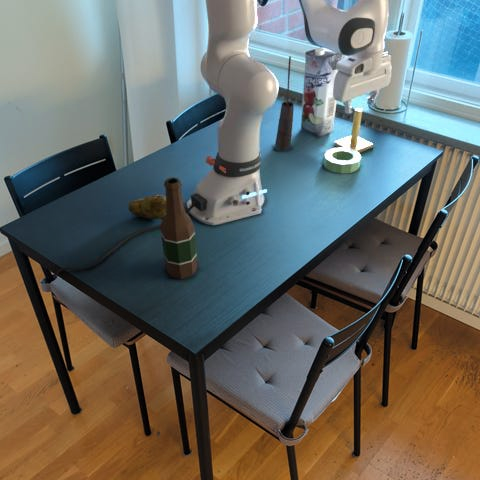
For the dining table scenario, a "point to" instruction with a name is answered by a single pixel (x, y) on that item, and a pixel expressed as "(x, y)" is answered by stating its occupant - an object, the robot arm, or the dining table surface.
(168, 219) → the beer bottle
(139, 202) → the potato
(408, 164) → the dining table surface
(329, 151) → the ring
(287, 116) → the butter churn
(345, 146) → the stand
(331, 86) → the juice carton
